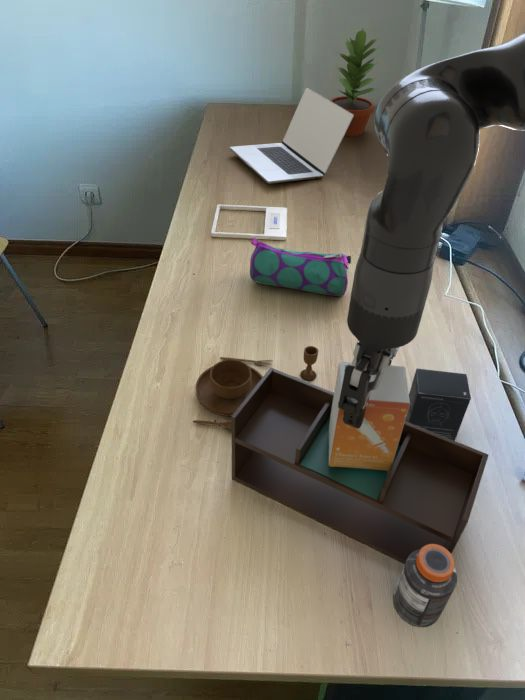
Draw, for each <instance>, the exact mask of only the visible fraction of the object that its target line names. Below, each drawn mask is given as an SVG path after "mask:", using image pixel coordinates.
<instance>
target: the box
mask: <svg viewBox="0 0 525 700" xmlns="http://www.w3.org/2000/svg"><path fill="white" fill-rule="evenodd" d="M409 399H410V405H409V409H408V412H407V416H406V419H405V421H406V422H409V423H411V424H414V425H416V426H419V427H421V428H424V429H426V430H429V431H431V432H434V433H436V434H439V435H441V436H444V437H446V438H449V439H451V440H454V441H456V439H457V437H458V434H459V431H460V428H461V426H462V423H463V420H464V418H465V416H466V414H467V413H466V412H467V411H468V408H469V405H470V402H471V400H472V395H471V390H470V384H469V379H468V375H467V373H461V372H452V371H445V370H444V371H443V370H433V369H425V368H415V372H414V375H413V379H412V383H411V386H410V390H409Z"/></svg>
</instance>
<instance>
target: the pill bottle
mask: <svg viewBox="0 0 525 700" xmlns="http://www.w3.org/2000/svg"><path fill="white" fill-rule="evenodd" d="M455 565H456V564H455V558H454V557H453V555H452V554H451V553H450V552H449V551H448V550H447V549H446V548H444V547H442V546H440V545H437V544H428V545H425V546H424V547H422V548H421V549H418V550H415V551H414V552H412V553H411V554H410V555H409V556H408V558H407V560H406V562H405V564H403V567H402V570H401V573H400V575H399V578H398V580H397V582H396V586H395V588H394V590H393V594H392V604H393V608H394V611H395V613H397V616H399V618H400V619H401V620H402V621H404V622H405V623H406V624H408V625H410V626H411V627H415V628H428V627H431V626H433V625H434V624H436V623H437V622H438V620H439V619H440V617H441V615H442V613H443V611H444V610H445V607H446V606H447V604H448V602H449V600H450V598H451V596H452V595H453V593H454V591H455V590H456V587H457V583H458V573H457V570H456V567H455Z"/></svg>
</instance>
